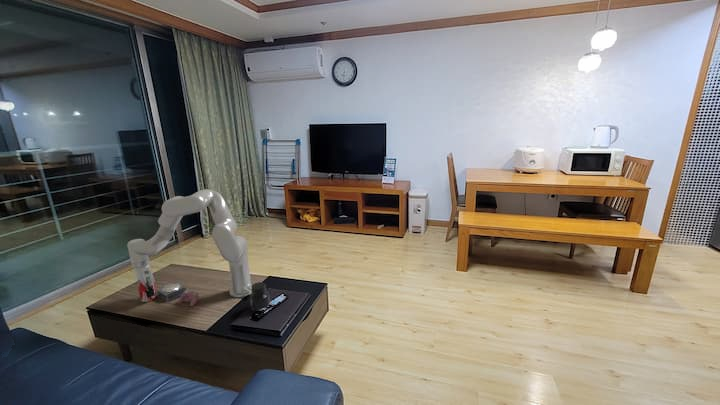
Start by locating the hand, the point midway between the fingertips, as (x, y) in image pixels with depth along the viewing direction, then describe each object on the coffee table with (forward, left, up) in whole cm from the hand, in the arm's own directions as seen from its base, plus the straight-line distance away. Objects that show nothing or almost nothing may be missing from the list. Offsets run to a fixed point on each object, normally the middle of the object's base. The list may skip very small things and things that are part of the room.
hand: (147, 293), depth 158 cm
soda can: (0, 0, -4) cm, 4 cm away
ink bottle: (-56, -28, -4) cm, 63 cm away
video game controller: (-21, -10, -4) cm, 24 cm away
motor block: (-4, -9, -3) cm, 11 cm away
